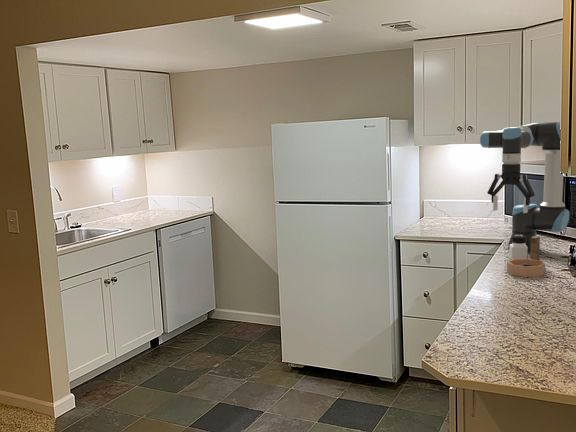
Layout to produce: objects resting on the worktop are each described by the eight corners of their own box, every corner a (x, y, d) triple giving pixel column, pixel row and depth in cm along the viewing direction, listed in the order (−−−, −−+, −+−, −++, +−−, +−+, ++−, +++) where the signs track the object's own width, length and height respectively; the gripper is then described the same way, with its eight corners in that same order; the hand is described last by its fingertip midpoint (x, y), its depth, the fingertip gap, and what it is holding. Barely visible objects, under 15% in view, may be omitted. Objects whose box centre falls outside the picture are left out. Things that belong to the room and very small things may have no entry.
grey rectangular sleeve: (523, 267, 267) (523, 263, 266) (535, 269, 263) (535, 265, 262) (516, 271, 262) (516, 266, 261) (528, 272, 258) (528, 268, 258)
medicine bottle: (527, 261, 281) (528, 237, 279) (511, 261, 282) (512, 237, 280) (524, 258, 287) (525, 234, 285) (509, 258, 289) (509, 234, 287)
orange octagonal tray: (516, 266, 273) (516, 257, 272) (548, 271, 262) (549, 261, 262) (502, 273, 262) (502, 263, 262) (535, 278, 252) (535, 268, 251)
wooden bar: (533, 265, 274) (534, 235, 271) (538, 266, 272) (539, 236, 270) (529, 267, 271) (530, 237, 269) (535, 268, 269) (536, 237, 267)
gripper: (480, 163, 263) (479, 210, 266) (536, 164, 245) (535, 215, 249) (488, 161, 268) (487, 208, 271) (543, 163, 250) (542, 212, 254)
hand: (510, 211), depth 260 cm, fingers open, 13 cm apart
